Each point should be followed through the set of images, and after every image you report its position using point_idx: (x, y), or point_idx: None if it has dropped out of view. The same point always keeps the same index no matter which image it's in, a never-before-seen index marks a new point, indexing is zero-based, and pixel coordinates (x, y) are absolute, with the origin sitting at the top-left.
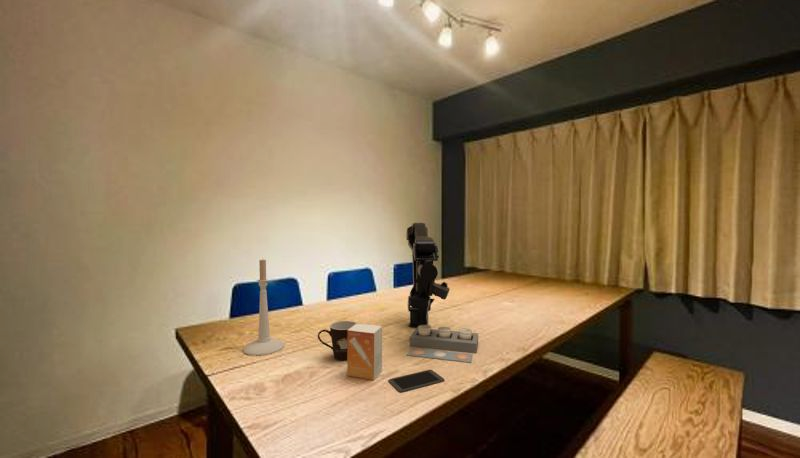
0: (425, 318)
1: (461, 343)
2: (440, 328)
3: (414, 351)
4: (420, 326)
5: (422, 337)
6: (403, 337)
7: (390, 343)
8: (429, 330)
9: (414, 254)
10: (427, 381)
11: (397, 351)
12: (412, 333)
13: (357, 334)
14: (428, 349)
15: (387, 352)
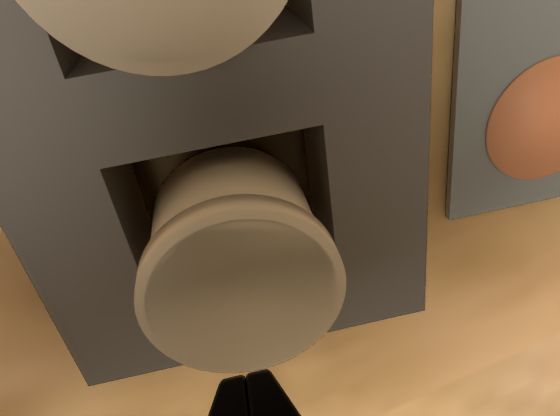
0: (293, 411)
1: None
2: (190, 14)
3: (546, 153)
4: (253, 346)
5: (393, 197)
6: (209, 374)
7: (380, 380)
8: (252, 195)
9: None
10: None
11: (527, 274)
12: None
13: None
14: (459, 44)
15: (555, 318)
